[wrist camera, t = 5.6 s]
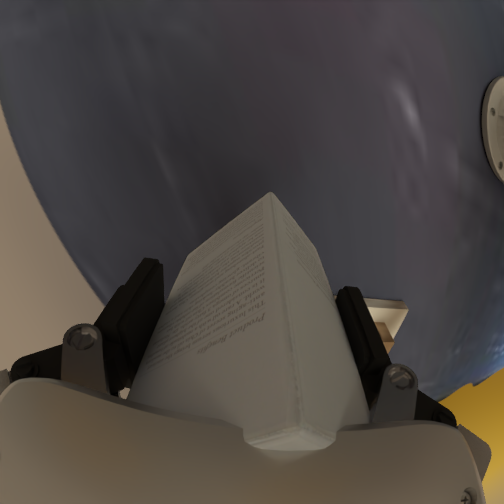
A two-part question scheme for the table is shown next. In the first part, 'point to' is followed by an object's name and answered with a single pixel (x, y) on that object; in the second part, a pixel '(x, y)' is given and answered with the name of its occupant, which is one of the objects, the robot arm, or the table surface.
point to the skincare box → (255, 338)
